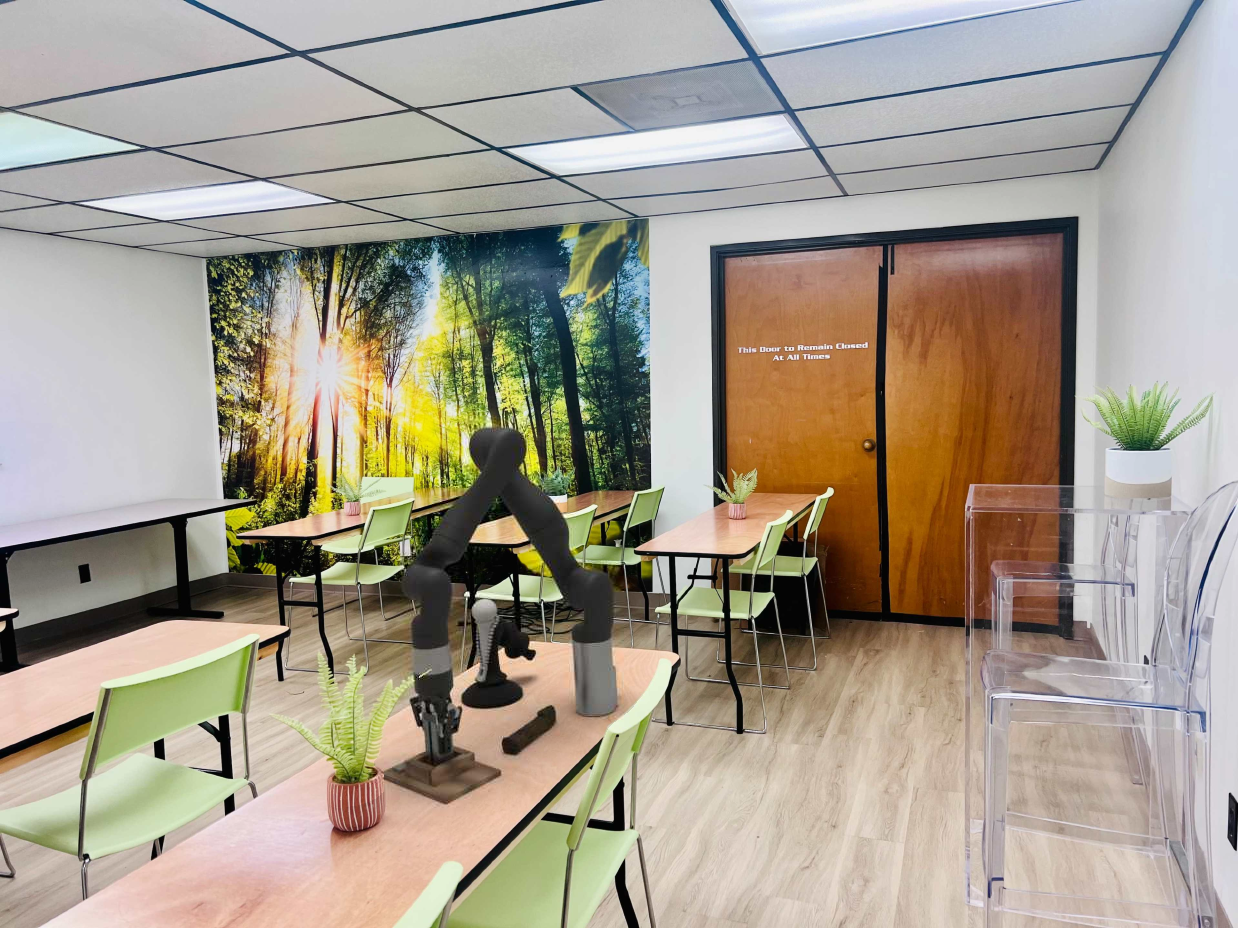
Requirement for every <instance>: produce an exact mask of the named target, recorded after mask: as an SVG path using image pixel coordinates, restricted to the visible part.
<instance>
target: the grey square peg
mask: <svg viewBox="0 0 1238 928" xmlns="http://www.w3.org/2000/svg"><path fill="white" fill-rule="evenodd" d="M446 718H447V715H446V716H445V717H443V718H441V719H440V721H441V720H443V719H446ZM423 721H424V731H423V734H424V744H425V745H424V748H425V751H426V764H428V765H431V766H433V767H437V766H439V765H441V764H443V763H445V762H447V761H449V760H451V759H453V758H454V750H453V746H454V739H453V737H454V736H453V734H452V735H451V746H452V749H451V752H450V753H448V754H446V755H441V753H440V741H439V737H440V736H439V732H438V726H436V720H435V715H432V713H431V712H423ZM445 728H446V723H445V724H443V729H444V730H445Z"/></svg>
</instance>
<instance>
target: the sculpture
mask: <svg viewBox="0 0 1238 928" xmlns="http://www.w3.org/2000/svg"><path fill="white" fill-rule="evenodd" d="M471 607H472V608H471V615H472V617H473V618H474V623H475V624H476V625H477V626H476V630H475V632H476V634H475V636H476V638H475V640H476V642H475V644H476V648H477V649H476V651H477V655H478V656H477V657H478V659H479V660H478V661H479V666H478V672H477V674H476V676H475V678H474V681H475V682H473V683H472V684H470V685H469V686H468V687H467V688H466V689H465V690H464V691H463V692H462V694H461V695H460V696H461V697H460V698H461V703H462V704H463V705H464V706H466V707H468V708H473V709H482V710H483V709H485V710H486V709H487V710H488V709H499V708H503V707H506V706H510V705H512V704H515V703H517V702H519V701H520V700H522V698H523V696H524V689H523V687H521V686H520V684H518V683H516V682H515V681H513V680H511V679H508V674H507V673H505V672H503V670H502V669H501V665H500V657H499V647H502V648H504V654H505V656H506V658H508V659H511V660H514V659H515V660H516V659H519V658H520V657H523V658H525V659H526V660H527V661H528V662H530V661H533V660H534V658H535V657H536V655H537V651H536V650H535V649H530V648H529V647H530V643H531V640H530V636H529V634H528V633H527V632H525V631H519V630H518V627H517V625H516V624H515V622H512V621H510V622H509V621H507V620H505V619H504V617H502V616H501V615H499V614H497V612H498V608H497V607H498V606H497V605H496V603H495V602H494V601H493V600H491V599H489V598H488V599H487V598H483V599H479V600H477V601H476V602H475V603H474V604H473V606H471Z"/></svg>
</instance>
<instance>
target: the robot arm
mask: <svg viewBox="0 0 1238 928" xmlns="http://www.w3.org/2000/svg"><path fill="white" fill-rule="evenodd" d="M527 446H528V445H527V441H526V438H525V437H524V435H523V434H522V433H521V431H519V430H518V429H516V428H512V427H496V426H495V427H491V426H490V427H483V428H479V429H477V430H476V431H475V432H473V434H472V435H471V436H470V439H469V442H468V453H469V456H470V458H471V460H472V462H473V464H474V466H475V467H476V468H477V470H478V471H479V472H480V473H479V475H478V477H477V478H476V479H475V481H474V482H473V483H472V484H471V485H470V487H469V488H468V489H467V490H466V491H464V493H463V494H461V495H460V497H459V498H458V499H456V501H455V502H454V503H453V504H452V505H451V506H450V507H449V508H448V509H447V511H446V512H445V514H444V515H443V517H442V518H441V520H440V522H439V523H438V525H437V527H436V529H435V530H434V532H433V535H432V537H431V539H430V540H429V542H428V543H427V544H426V545H425V546H424V547H423V548H422V549H421V551H420V552H419V553H417V555H416V556H415V557H414V558H413V560H412V561H411V562H410V564H409V565H408V566H407V568H406V570H405V571H404V573H403V576H402V581H401V590H402V592H403V594H404V595H405V597H406V598H408V599H410V600H412V601H415V602H419V603H420V607H419V608H420V611H419V614H417V615H416V616H414V618H412V621H411V642H412V654H411V655H412V657H411V659H412V660H411V661H412V672H413V673H412V674H413V684H414V692H415V693H416V694H417V695H415V696H413V697H410V698H409V703H410V707H411V710H412V713H413V717H414V720H415V724H416V726H417V727H418V728H421V729H422V732H424V721H423V712H431V713H432V715H435V720H436V726H438V732H439V736H440V737H439V741H440V753H441V755H446V754H448V753H450V752H451V749H452V746H451V735H452V736H453V735H454V734H456V733H458V732H459V728H460V723H461V719H462V715H463V707H462V706H461V705H458V706H457V705H455V704H453V700H452V696H451V691H452V690H453V688H454V674H453V673H454V672H453V671H454V670H453V660H452V659H453V658H452V650H451V646H450V639H449V638H450V637H449V625H448V624H449V623H448V622H449V616H450V611H451V606H452V599H453V583H452V581H451V577H450V576H449V574H448V573H447V572H446V571H445V568H446V567H447V566H448V565H450V564H454V563H457V562H459V561H460V559H461V558H462V557H463V555H464V553H465V551H466V549H467V547H469V544H470V542H471V540H472V539H473V536H474V535H475V532H476V531H477V529H478V527H479V525H480V523H481V522H482V520H483V518H484V517H485V515H486V514H487V512H488V511H489V509H490V508H491V507H492V505H494V503H495V501H496V500H497V498H498V497H499V496H500V498H501V500H502V501H503V502H504V503H505V506H506V507H507V509H508V510H509V511H510V513H511V514H512V516H513V517H514V519H515V520H516V522H517V523H518V526H519V527H520V529H521V530H522V532H523V533H524V535H525V536H526V538H527V539H528V541H529V542H530V543H531V545H532V546H533V548H535V551H536V553H538V555H539V557H540V558H541V560H542V562H543V563H544V564H545V566H546V567H547V569H548V571H549V572H550V574H551V576H552V578H553V580H554V582H555V584H556V586H557V588H558V591H559V593H560V594H561V596H562V598H563V600H564V601H565V602H566V603H567V604H568V605H569V606H571V607H574V608H576V609H580V610H583V612H584V613H583V621H581V622H579V623H576V624H574V625H573V626H572V628H571V642H572V643H571V644H572V660H573V676H574V677H573V679H574V695H575V709H576V710H575V711H576V712H577V714H579V715H582V716H584V717H585V716H586V717H600V716H605V715H609V714H611V713H613V712H614V711H615V710H616V707H617V706H618V705H619V703H618V687H617V683H618V682H617V668H616V666H615V665H614V660H613V643H612V642H613V641H612V629H613V627H614V621H615V615H614V613H615V609H614V608H615V606H614V605H615V603H614V602H615V600H614V599H615V597H614V596H615V595H614V593H615V592H614V585H613V581H612V578H611V577H610V576H609V574H607V572H605V571H601V570H594V569H587V568H584V567H583V566H582V565H581V564H580V563H579V562H578V560H577V559H576V557H574V555H573V553H572V551H571V548H570V529H569V524H568V522H567V520H566V518H565V517H564V515H563V514H562V512H561V510H560V509H559V507H558V505H557V504H556V502H555V501H554V500H553V499H552V497H550V496H549V495H548V494H547V493H546V492H545V491H544V490H543V489H541V488H540V487H539V486H538V485H536V484H535V483H534V482H532V480H530V479H529V478H528V477H526V476H525V474H523V472H522V471H521V470H520V467H521V466H522V464H523V463H524V461H525V458H526V455H527V452H528V451H527V450H528V449H527V448H528V447H527ZM430 669H432V670H431V671H429V672H428V673H426V674H425V675H423V676H422V677H420V678H419V676H420V675H422V674H423V673H425V672H427V671H428V670H430ZM414 680H415V681H414ZM420 714H421V715H420ZM446 715H447V718H446V719H443V720H441V721H440V719H441V718H443V717H445V716H446ZM445 723H446V728H445V730H444V729H443V724H445Z"/></svg>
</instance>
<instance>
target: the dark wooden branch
mask: <svg viewBox="0 0 1238 928" xmlns="http://www.w3.org/2000/svg"><path fill="white" fill-rule="evenodd" d="M555 708H556V707H555V706H554V705H550V704H549V705H546V706H545V707H544V708H543V707H542V708H541V709H539V710H538V711H537V712H536V716H535V717H534V718H533V719H532V720H530V721H529V722H527V723H526V724H524V725H523V726H521V727H520V728H519V729H517V730H516V731H514V732H513V733H511V734H509V735H508V736H505V737H502V739H501V750H502V751H503V753H504V754H507V755H513V756H514V755H517V754H518V752H520V751H521V750H522V748H523V747H524V746H526V745H527V744H528V743H530V742H531V741H532V740H534V739H535V738H537V737H538V736H539V735H540V734H541V733H543V732H549V730H551V728H552V727H553V726H554V725H555V724H556V721H557V713H556V712H557V711H556V709H555Z"/></svg>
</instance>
